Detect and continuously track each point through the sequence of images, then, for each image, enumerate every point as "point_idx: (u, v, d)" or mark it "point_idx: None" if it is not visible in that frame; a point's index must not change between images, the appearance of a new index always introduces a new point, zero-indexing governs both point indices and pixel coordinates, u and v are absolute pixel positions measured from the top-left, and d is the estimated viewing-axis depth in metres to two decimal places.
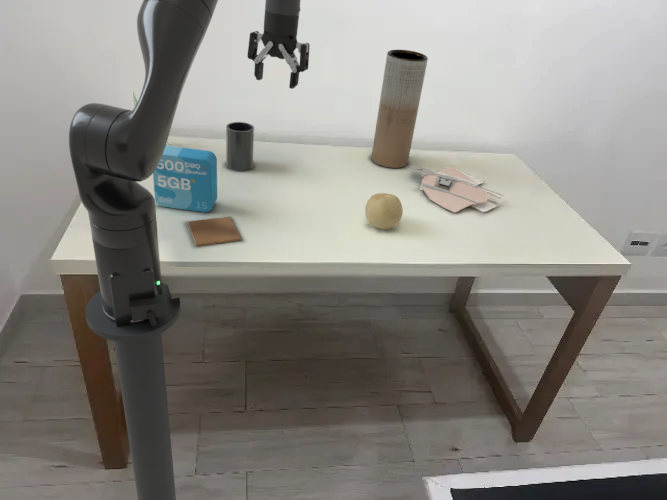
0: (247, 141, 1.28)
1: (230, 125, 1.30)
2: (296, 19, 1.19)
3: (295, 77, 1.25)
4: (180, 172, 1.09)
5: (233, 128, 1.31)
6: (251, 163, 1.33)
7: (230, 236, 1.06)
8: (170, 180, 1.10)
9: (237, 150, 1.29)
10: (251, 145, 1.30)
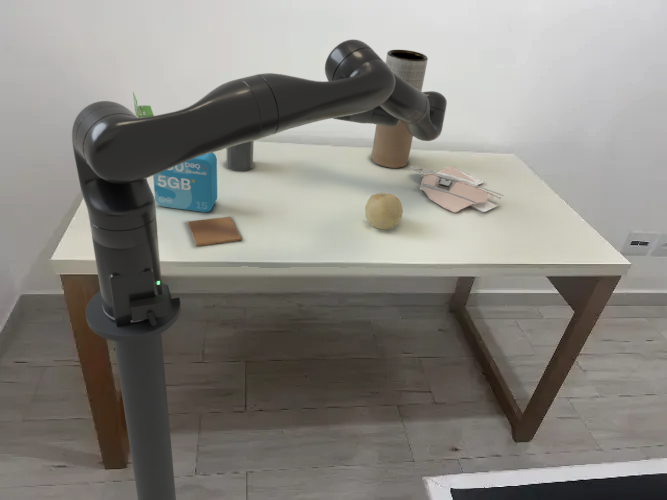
0: None
1: None
2: None
3: None
4: (180, 172, 1.09)
5: None
6: (251, 163, 1.33)
7: (230, 236, 1.06)
8: (170, 180, 1.10)
9: (237, 150, 1.29)
10: (251, 145, 1.30)
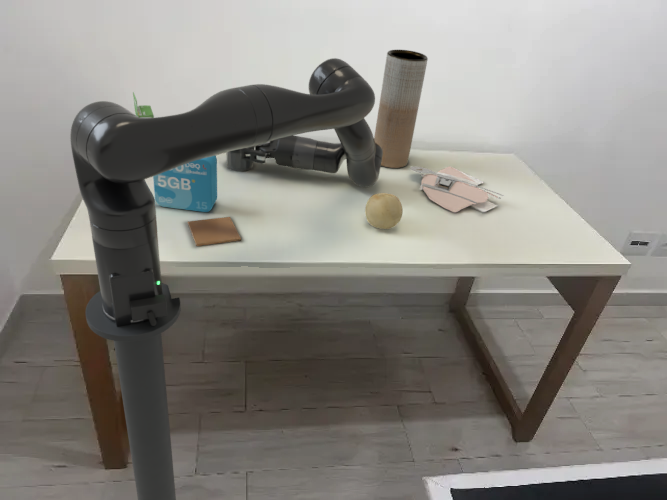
0: None
1: None
2: (289, 155, 1.27)
3: None
4: (180, 172, 1.09)
5: None
6: (251, 163, 1.33)
7: (230, 236, 1.06)
8: (170, 180, 1.10)
9: None
10: None
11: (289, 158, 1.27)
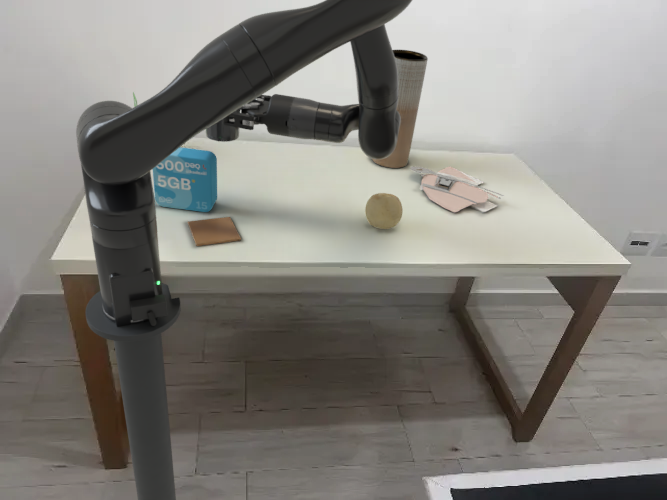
0: None
1: None
2: (284, 120, 1.01)
3: None
4: (180, 172, 1.09)
5: None
6: (237, 132, 1.07)
7: (230, 236, 1.06)
8: (170, 180, 1.10)
9: None
10: None
11: (284, 124, 1.01)
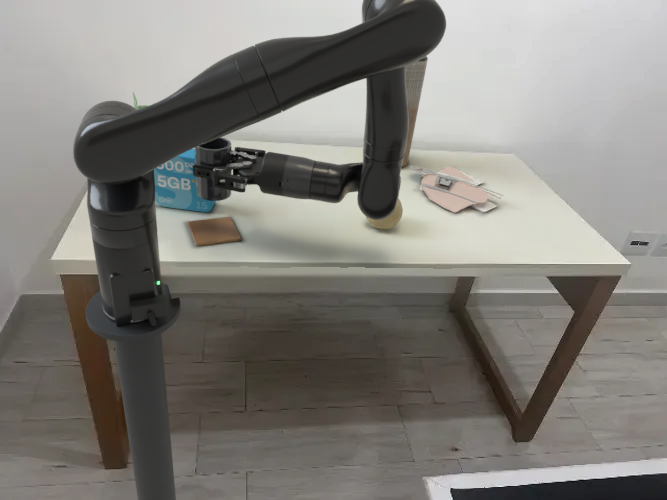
0: (222, 161, 0.97)
1: None
2: (277, 181, 0.95)
3: (206, 170, 0.96)
4: (180, 172, 1.09)
5: (204, 145, 1.00)
6: (229, 190, 1.01)
7: (230, 236, 1.06)
8: (170, 180, 1.10)
9: None
10: None
11: (277, 185, 0.95)
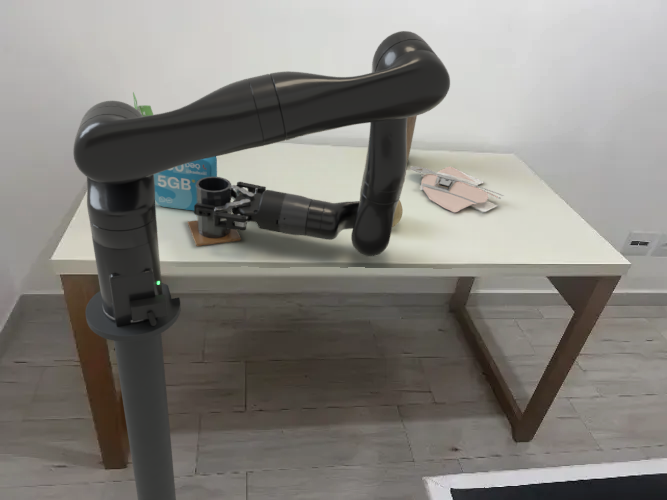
0: (222, 202, 1.01)
1: (201, 181, 1.03)
2: (274, 219, 0.99)
3: (207, 209, 0.99)
4: (180, 172, 1.09)
5: (205, 184, 1.04)
6: None
7: (230, 236, 1.06)
8: (170, 180, 1.10)
9: None
10: None
11: (274, 222, 1.00)
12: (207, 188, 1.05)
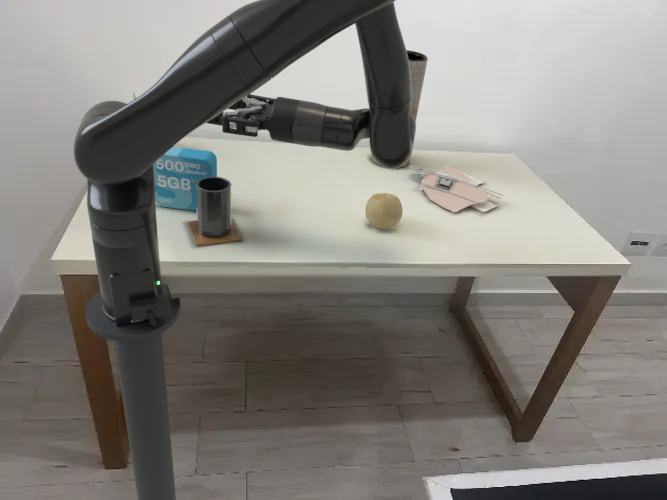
0: (222, 202, 1.01)
1: (201, 181, 1.03)
2: (288, 126, 0.92)
3: None
4: (180, 172, 1.09)
5: (205, 184, 1.04)
6: (228, 227, 1.06)
7: (230, 236, 1.06)
8: (170, 180, 1.10)
9: (210, 214, 1.02)
10: (228, 206, 1.03)
11: (288, 129, 0.92)
12: (207, 188, 1.05)
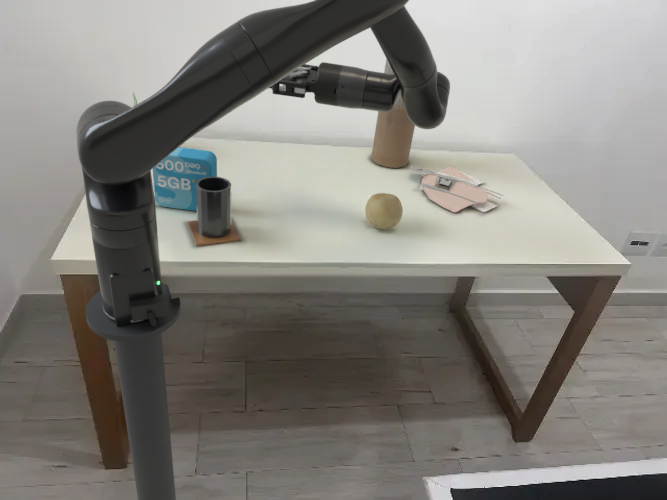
0: (222, 202, 1.01)
1: (201, 181, 1.03)
2: (333, 88, 1.00)
3: None
4: (180, 172, 1.09)
5: (205, 184, 1.04)
6: (228, 227, 1.06)
7: (230, 236, 1.06)
8: (170, 180, 1.10)
9: (210, 214, 1.02)
10: (228, 206, 1.03)
11: (332, 92, 1.00)
12: (207, 188, 1.05)
